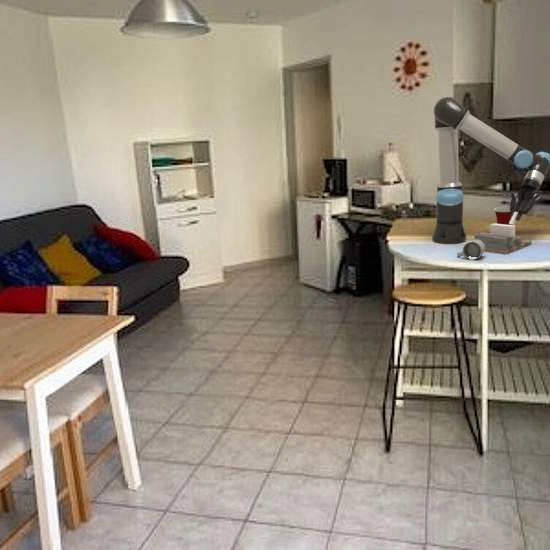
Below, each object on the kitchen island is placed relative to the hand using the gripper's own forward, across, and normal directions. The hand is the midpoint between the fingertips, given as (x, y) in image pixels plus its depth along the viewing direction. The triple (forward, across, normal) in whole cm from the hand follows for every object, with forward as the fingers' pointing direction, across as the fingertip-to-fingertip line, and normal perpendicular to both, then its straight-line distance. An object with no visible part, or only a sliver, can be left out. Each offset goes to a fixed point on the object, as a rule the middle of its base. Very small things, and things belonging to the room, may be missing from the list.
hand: (511, 225), depth 251 cm
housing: (+11, 0, 0) cm, 11 cm away
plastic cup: (-8, +14, -20) cm, 26 cm away
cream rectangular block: (+10, 0, 0) cm, 10 cm away
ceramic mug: (+28, +1, +16) cm, 32 cm away
